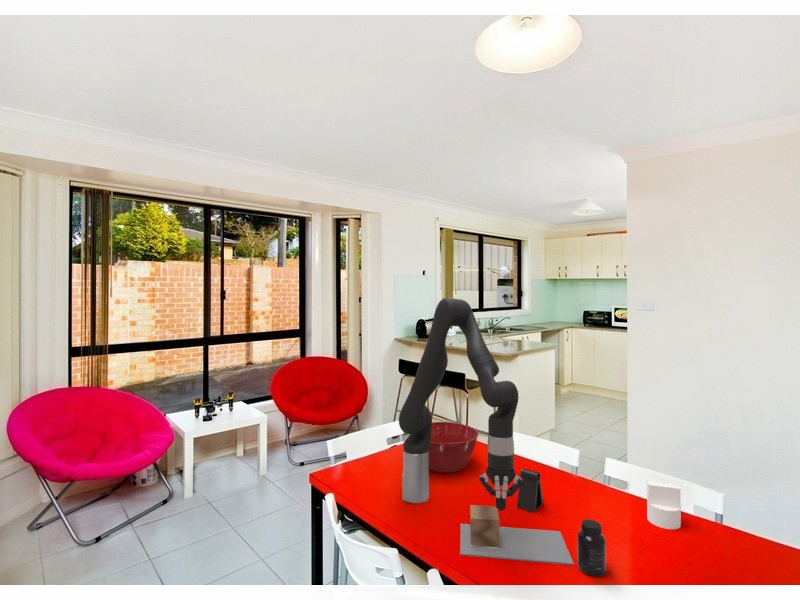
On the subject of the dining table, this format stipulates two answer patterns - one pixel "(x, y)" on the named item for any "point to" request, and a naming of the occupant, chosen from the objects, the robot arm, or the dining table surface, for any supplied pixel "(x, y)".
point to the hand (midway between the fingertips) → (500, 509)
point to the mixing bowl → (451, 446)
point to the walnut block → (484, 526)
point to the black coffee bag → (530, 491)
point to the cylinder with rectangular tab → (664, 505)
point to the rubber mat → (520, 545)
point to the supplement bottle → (591, 548)
